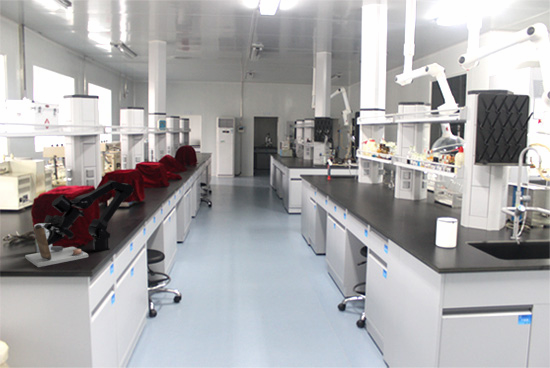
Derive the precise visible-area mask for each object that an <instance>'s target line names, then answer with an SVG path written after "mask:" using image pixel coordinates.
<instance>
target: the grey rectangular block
mask: <svg viewBox="0 0 550 368" xmlns="http://www.w3.org/2000/svg"><path fill="white" fill-rule="evenodd" d="M63 248H64V246H61V245H60V246H59V245H54V246H53V245H52V246H51V250H53V251H59V250H63Z"/></svg>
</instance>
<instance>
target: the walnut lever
mask: <svg viewBox="0 0 550 368" xmlns="http://www.w3.org/2000/svg"><path fill="white" fill-rule="evenodd" d="M35 225H36V224H35ZM33 232H34V237H35V236H36V239H37V243H38V247H39V251H40V254H41V257H42V258H44V259H47V260H51V253H50V250H49V246H48V242H47V238H46V234H45V230H44V228H42V226H41V225H36V226H35V228H34V227H33Z"/></svg>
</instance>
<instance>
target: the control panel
mask: <svg viewBox="0 0 550 368" xmlns="http://www.w3.org/2000/svg"><path fill="white" fill-rule="evenodd" d="M74 249H78V248H77V247H75V246H69V247H63V250H59V251H53V250H52V251H50V253H51V260H47V259H44V258H42V257H41V254H40V253H31V254H25V255H24V256H25V259H26V260H27V261H28V262H30V263H32V264H33V265H34V266H36V267H37V268H42V267H46V266H51V265H56V264H61V263H65V262H71V261H75V260H76V261H77V260H80V259H85V258H89V254H88V253H87V252H85V251H83V250H81V254H77V255H74V254H73V250H74Z"/></svg>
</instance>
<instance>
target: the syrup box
mask: <svg viewBox="0 0 550 368" xmlns="http://www.w3.org/2000/svg"><path fill="white" fill-rule="evenodd" d="M46 223H47V222H43V223H42V222H41V223H40V222H39V223H36V224H34V225H33V229H34V228H35V226H36V225H41V226H42V228H44V227H43V226H44V225H45V224H46ZM44 230H45V234H46V238H47V239H48V236H49V231H48V230H47V229H46V228H44ZM34 241H35V243H34V244H35V252H36V253H40V251H39V247H38V243H37V239H36V236H35V235H34ZM51 246H53V244H51V245H49V250H50V251H52V250H51Z"/></svg>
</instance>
